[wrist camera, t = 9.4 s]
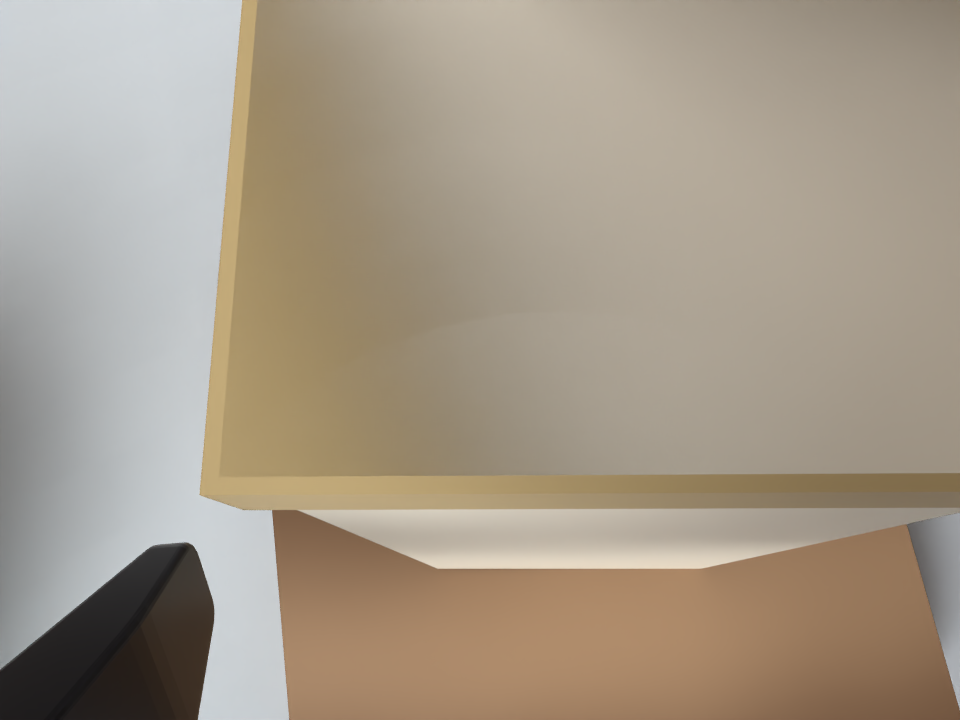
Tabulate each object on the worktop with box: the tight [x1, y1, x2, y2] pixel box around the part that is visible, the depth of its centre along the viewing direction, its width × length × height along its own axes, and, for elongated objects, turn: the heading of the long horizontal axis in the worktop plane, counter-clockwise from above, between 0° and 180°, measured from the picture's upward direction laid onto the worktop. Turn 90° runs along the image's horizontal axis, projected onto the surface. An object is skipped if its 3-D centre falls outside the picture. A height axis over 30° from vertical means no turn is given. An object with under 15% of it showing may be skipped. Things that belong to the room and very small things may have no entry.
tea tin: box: [200, 0, 960, 569], centre depth 11 cm, size 5×5×12 cm
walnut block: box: [272, 510, 960, 720], centre depth 19 cm, size 12×12×3 cm
